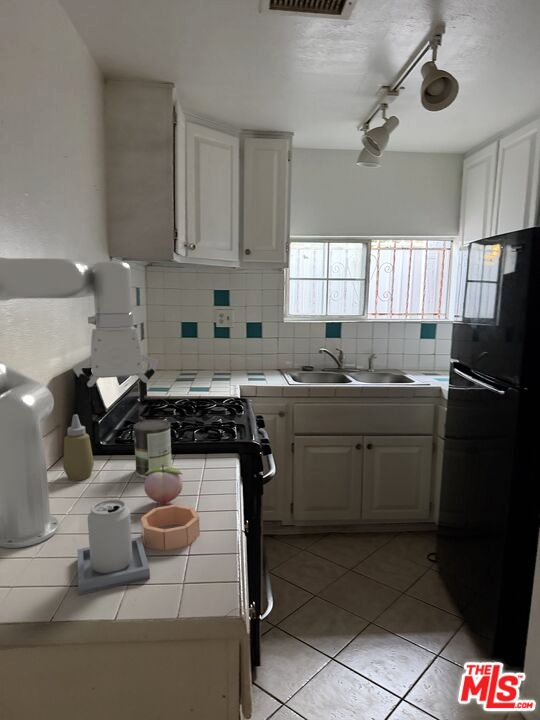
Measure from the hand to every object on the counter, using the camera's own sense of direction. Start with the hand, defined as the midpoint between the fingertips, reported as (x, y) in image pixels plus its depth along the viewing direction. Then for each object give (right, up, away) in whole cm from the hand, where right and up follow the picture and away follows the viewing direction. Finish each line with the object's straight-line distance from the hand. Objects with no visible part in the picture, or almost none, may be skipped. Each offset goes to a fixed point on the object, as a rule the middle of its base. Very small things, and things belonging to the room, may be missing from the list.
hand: (118, 401), depth 101 cm
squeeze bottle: (-21, -24, +32) cm, 45 cm away
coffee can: (-1, -24, +36) cm, 43 cm away
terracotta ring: (+11, -29, 0) cm, 31 cm away
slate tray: (+3, -30, -12) cm, 33 cm away
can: (+2, -30, -12) cm, 32 cm away
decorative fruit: (+6, -27, +15) cm, 31 cm away
